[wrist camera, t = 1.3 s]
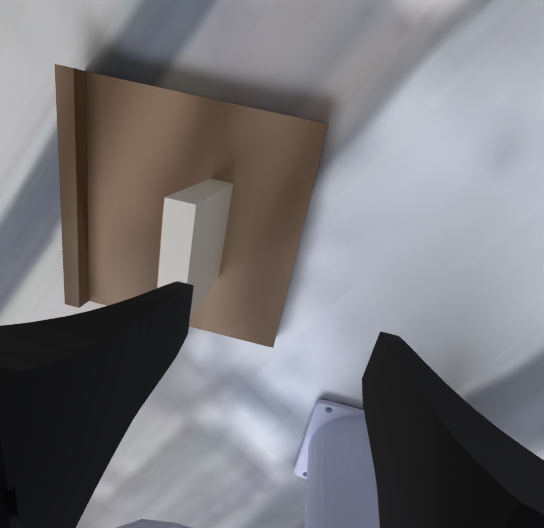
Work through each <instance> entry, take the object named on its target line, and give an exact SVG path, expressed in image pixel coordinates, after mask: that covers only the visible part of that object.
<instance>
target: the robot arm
mask: <svg viewBox="0 0 544 528" xmlns="http://www.w3.org/2000/svg"><path fill="white" fill-rule="evenodd" d="M193 288H194V285H191V284H187V283H183V282H179V281H176V282H173V283H170V284H167V285H164V286H162V287H159V288H156V289H154V290H151V291H149V292H146V293H143V294H141V295H138V296H135V297H133V298H130V299H127V300H124V301H121V302H118V303H115V304H112V305H109V306H106V307H102V308H99V309H95V310H91V311H87V312H83V313H79V314H75V315H70V316H65V317H60V318H54V319H48V320H42V321H36V322H30V323H22V324H13V325H4V326H0V528H76V526H77V524H78V522H79V520H80V518H81V516H82V514H83V512H84V510H85V508H86V506H87V504H88V502H89V500H90V498H91V496H92V494H93V492H94V490H95V488H96V487H97V485H98V483H99V481H100V479H101V477H102V475H103V473H104V471H105V469H106V468H107V466H108V464H109V462H110V460H111V458H112V456H113V455H114V453H115V451H116V449H117V447H118V445H119V444H120V442H121V440H122V438H123V436H124V435H125V433H126V431H127V429H128V427H129V426H130V424H131V422H132V420H133V419H134V417H135V416H136V414H137V413H138V411H139V409H140V408H141V406H142V405H143V404H144V402H145V401H146V399H147V398H148V396H149V395H150V394H151V392H152V391H153V389H154V388H155V387H156V385H157V384H158V382H159V381H160V379H161V378H162V377H163V375H164V374H165V372H166V371H167V369H168V368H169V367H170V365H171V364H172V362H173V361H174V359H175V358H176V356H177V354H178V352H179V350H180V349H181V347H182V345H183V343H184V341H185V339H186V337H187V335H188V329H189V321H190V313H191V305H192V297H193ZM362 393H363V408H364V410H361V409H358V408H354V407H350V406H346V405H342V404H339V403H335V402H331V401H327V400H322V399H321V400H318V401H316V403H315V406H314V409H313V412H312V415H311V418H310V421H309V424H308V427H307V430H306V433H305V436H304V439H303V442H302V445H301V448H300V451H299V454H298V457H297V460H296V463H295V466H294V473H295V475H297V476H299V477H303V478H306V479H307V480H306V503H305V526H304V528H544V460H542V459H541V458H539V457H538V456H536V455H535V454H533V453H532V452H531V451H529V450H528V449H526V448H525V447H523V446H522V445H521V444H519V443H518V442H516V441H515V440H514V439H512V438H511V437H509V436H508V435H507V434H505V433H504V432H503V431H501V430H500V429H499V428H497V427H496V426H495V425H494V424H492V423H491V422H490V421H489V420H487V419H486V418H485V417H484V416H482V415H481V414H480V413H479V412H477V411H476V410H475V409H474V408H473V407H471V406H470V405H469V404H468V403H467V402H466V401H465V400H463V399H462V398H461V397H460V396H459V395H458V394H457V393H456V392H455V391H454V390H453V389H451V388H450V387H449V386H448V385H447V384H446V383H445V382H444V381H443V380H442V379H441V378H440V377H439V376H438V375H437V374H436V373H435V372H434V371H433V370H432V369H431V368H430V367H429V366H428V365H427V364H426V363H425V362H424V361H423V360H422V359H421V358H420V357H419V356H418V355H417V354H416V352H415V351H414V350H413V349H412V348H411V347H410V346H409V345H408V344H407V343H406V342H405V341H404V340H402V339H401V338H400V337H399V336H397V335H393V334H389V333H385V332H380V334H379V336H378V339H377V341H376V344H375V347H374V349H373V352H372V354H371V357H370V360H369V362H368V365H367V367H366V370H365V372H364V375H363V378H362ZM327 407H330V408H331V409H327ZM118 528H191V527H188V526H184V525H181V524H177V523H172V522H164V521H155V520H146V519H141V520H138V521H135V522H132V523H129V524H126V525H123V526H121V527H118Z"/></svg>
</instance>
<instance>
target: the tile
mask: <svg viewBox="0 0 544 528" xmlns="http://www.w3.org/2000/svg"><path fill="white" fill-rule="evenodd" d="M232 188H233V183H228V182H224V181H220V180H215V179H208V180H206V181H203V182H201V183H198V184H196V185H194V186H191V187H189V188H186V189H184V190H181V191H179V192H176V193H174V194H171V195H169V196H166V197H165V198H164V204H163V216H162V229H161V242H160V254H159V267H158V280H157V288H159V287H162V286H164V285H167V284H170V283H173V282H176V281H179V282H183V283H187V284H191V285H194V288H193V297H192V305H191V313H190V318H191V317H192V315H193V314H194V313H195V311H196V310H197V308H198V307H199V306H200V304H201V303H202V301H203V300H204V299H205V297H206V296H207V294H208V293H209V292H210V290H211V289H212V287H213V286H214V284H215V283H216V282H217V280H218V279H219V272H220V266H221V259H222V253H223V246H224V240H225V233H226V227H227V221H228V214H229V208H230V201H231V195H232Z"/></svg>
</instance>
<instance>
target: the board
mask: <svg viewBox="0 0 544 528" xmlns="http://www.w3.org/2000/svg"><path fill="white" fill-rule="evenodd" d="M55 82H56V106H57V129H58V152H59V176H60V199H61V222H62V246H63V269H64V293H65V304H67V305H71V306H75V307H78V308H80V307H81V306H82V305H84V304H85V303H87V302H88V301H92V302H96V303H100V304H104V305H108V306H109V305H112V304H115V303H118V302H121V301H124V300H127V299H130V298H133V297H135V296H138V295H141V294H143V293H146V292H149V291H151V290H154V289H156V288H157V280H158V267H159V254H160V242H161V229H162V216H163V204H164V198H165V197H166V196H169V195H171V194H174V193H176V192H179V191H181V190H184V189H186V188H189V187H191V186H194V185H196V184H198V183H201V182H203V181H206V180H208V179H215V180H220V181H224V182H228V183H233V188H232V195H231V201H230V208H229V214H228V221H227V227H226V233H225V240H224V246H223V253H222V259H221V266H220V272H219V279H218V280H217V282H216V283H215V284H214V286H213V287H212V289H211V290H210V292H209V293H208V294H207V296H206V297H205V299H204V300H203V301H202V303H201V304H200V306H199V307H198V308H197V310H196V311H195V313H194V314H193V315H192V317H191V318H190V321H189V326H190V327H194V328H198V329H202V330H206V331H210V332H214V333H217V334H221V335H225V336H229V337H233V338H237V339H241V340H245V341H249V342H253V343H257V344H261V345H264V346H268V347H272V348H273V346H274V342H275V338H276V334H277V330H278V326H279V322H280V318H281V314H282V310H283V306H284V302H285V298H286V294H287V290H288V285H289V281H290V277H291V273H292V269H293V265H294V261H295V257H296V253H297V249H298V245H299V241H300V237H301V233H302V229H303V225H304V221H305V216H306V212H307V208H308V204H309V200H310V196H311V192H312V188H313V184H314V180H315V176H316V172H317V168H318V164H319V160H320V156H321V152H322V147H323V143H324V139H325V135H326V131H327V127H328V124H325V123H321V122H316V121H311V120H307V119H302V118H298V117H293V116H288V115H284V114H279V113H275V112H270V111H265V110H261V109H256V108H252V107H247V106H242V105H238V104H233V103H229V102H224V101H219V100H215V99H210V98H206V97H201V96H196V95H192V94H187V93H183V92H178V91H173V90H169V89H164V88H160V87H155V86H150V85H146V84H141V83H137V82H132V81H127V80H123V79H118V78H114V77H109V76H104V75H100V74H95V73H91V72H86V71H82V70H78V69H75V68H70V67H66V66H61V65H57V64H55Z"/></svg>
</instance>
